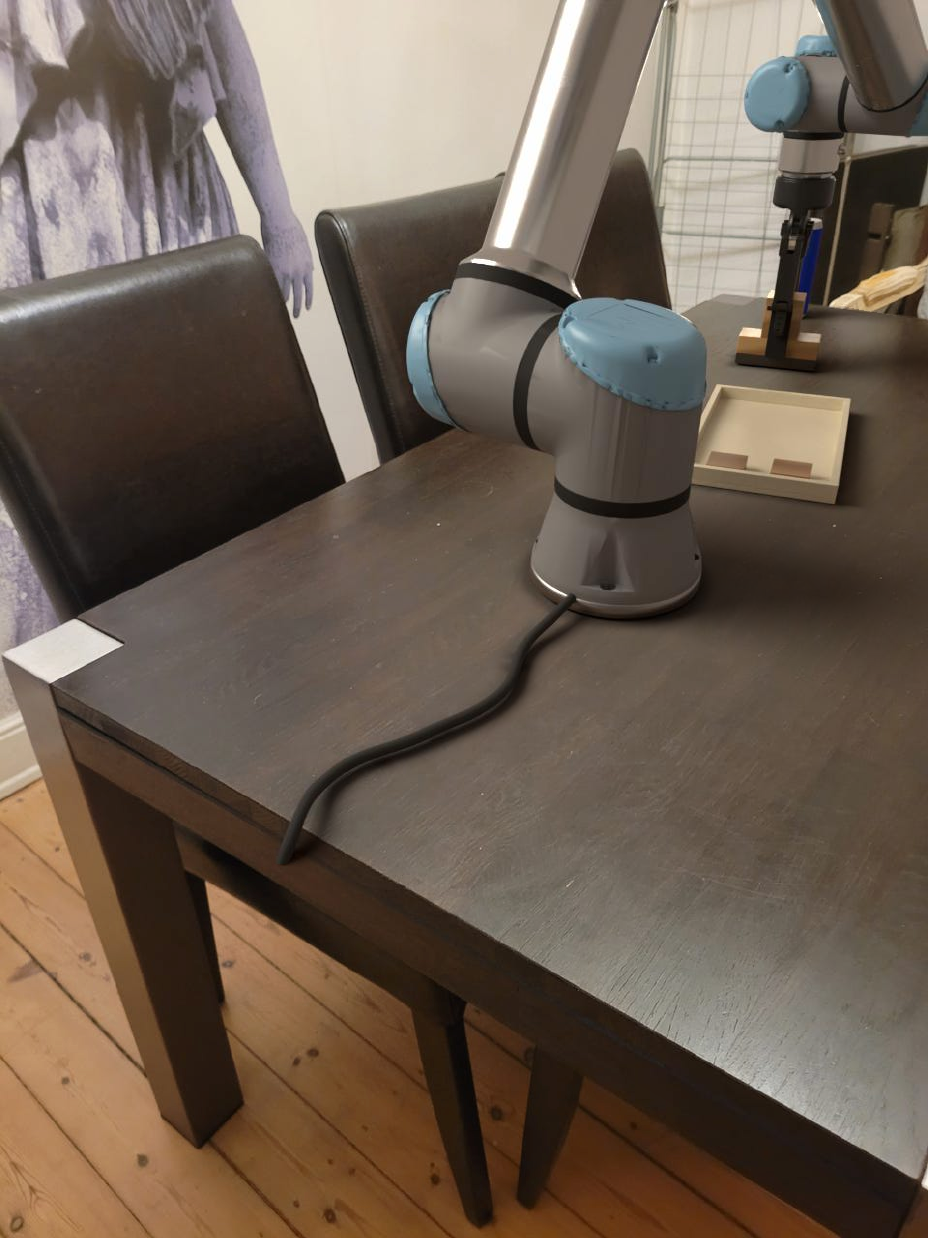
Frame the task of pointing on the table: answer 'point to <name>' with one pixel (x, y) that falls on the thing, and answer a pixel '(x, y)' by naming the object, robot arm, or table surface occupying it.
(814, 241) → the beverage can
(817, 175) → the robot arm
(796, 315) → the brush
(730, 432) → the tray
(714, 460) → the chip
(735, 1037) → the table surface
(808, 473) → the chip
